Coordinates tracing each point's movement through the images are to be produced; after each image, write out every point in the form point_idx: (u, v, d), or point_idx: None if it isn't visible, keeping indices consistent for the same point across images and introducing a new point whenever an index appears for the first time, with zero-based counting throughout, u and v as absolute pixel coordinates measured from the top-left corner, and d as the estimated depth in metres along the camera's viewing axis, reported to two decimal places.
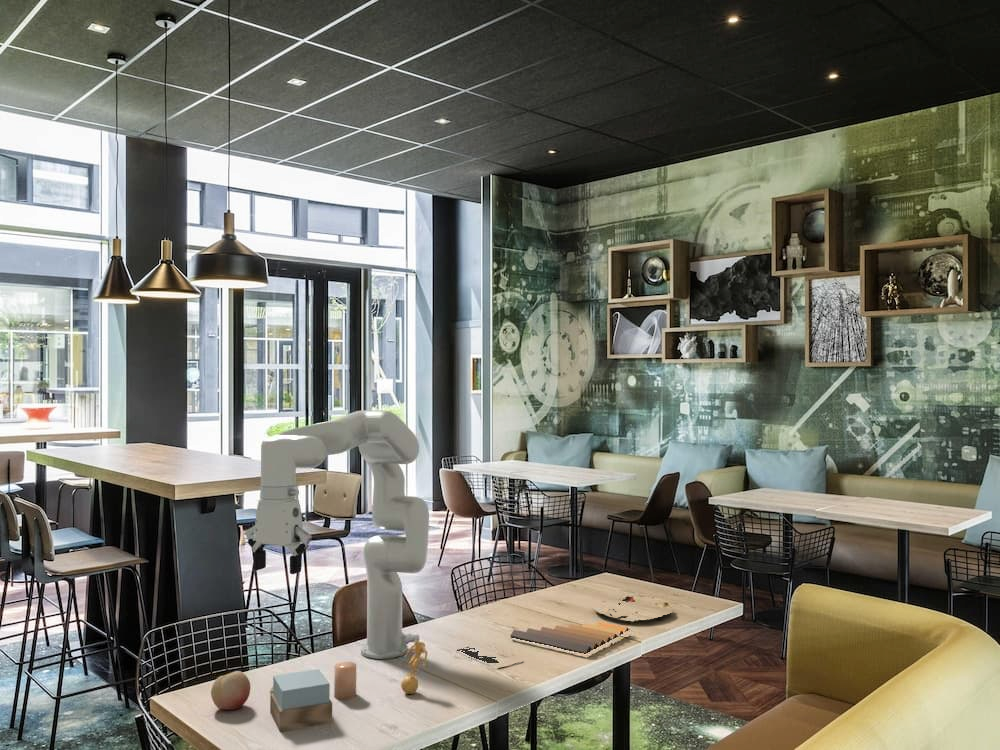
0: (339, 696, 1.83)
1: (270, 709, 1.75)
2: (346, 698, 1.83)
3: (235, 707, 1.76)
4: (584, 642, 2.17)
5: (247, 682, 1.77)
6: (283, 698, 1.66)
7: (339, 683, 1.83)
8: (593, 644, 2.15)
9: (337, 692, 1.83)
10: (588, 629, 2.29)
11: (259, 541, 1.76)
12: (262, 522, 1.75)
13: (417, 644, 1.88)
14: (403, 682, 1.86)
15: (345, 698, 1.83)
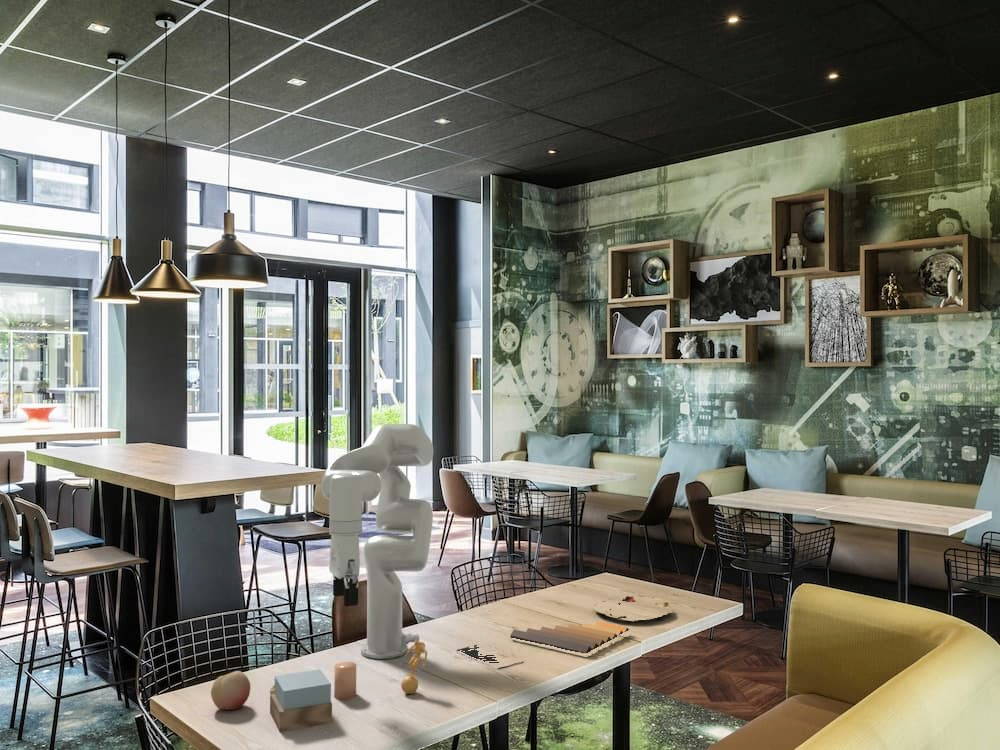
0: (339, 696, 1.83)
1: (270, 710, 1.75)
2: (346, 698, 1.83)
3: (235, 707, 1.76)
4: (584, 642, 2.17)
5: (247, 682, 1.77)
6: (284, 698, 1.66)
7: (339, 683, 1.83)
8: (593, 644, 2.16)
9: (337, 692, 1.83)
10: (588, 629, 2.29)
11: None
12: None
13: (417, 644, 1.88)
14: (403, 682, 1.86)
15: (345, 698, 1.83)
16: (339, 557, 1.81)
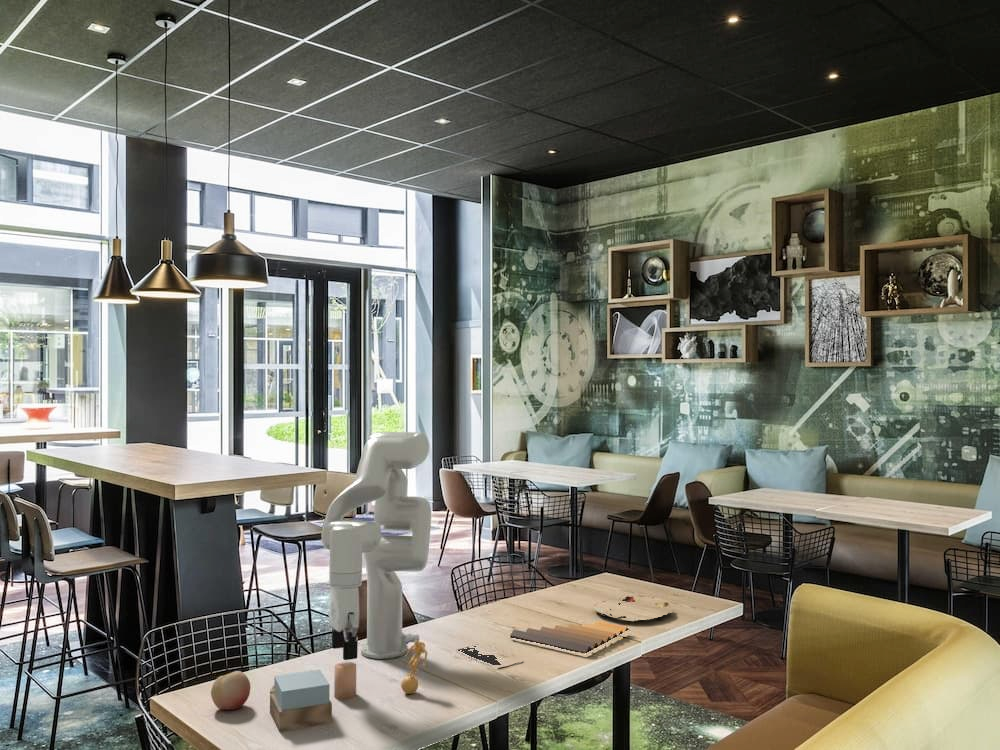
0: (339, 696, 1.83)
1: (270, 710, 1.75)
2: (346, 698, 1.83)
3: (235, 707, 1.76)
4: (584, 641, 2.17)
5: (247, 682, 1.77)
6: (283, 699, 1.66)
7: (339, 683, 1.83)
8: (593, 644, 2.16)
9: (337, 692, 1.83)
10: (588, 629, 2.29)
11: None
12: None
13: (417, 644, 1.88)
14: (403, 682, 1.86)
15: (345, 698, 1.83)
16: (339, 610, 1.80)
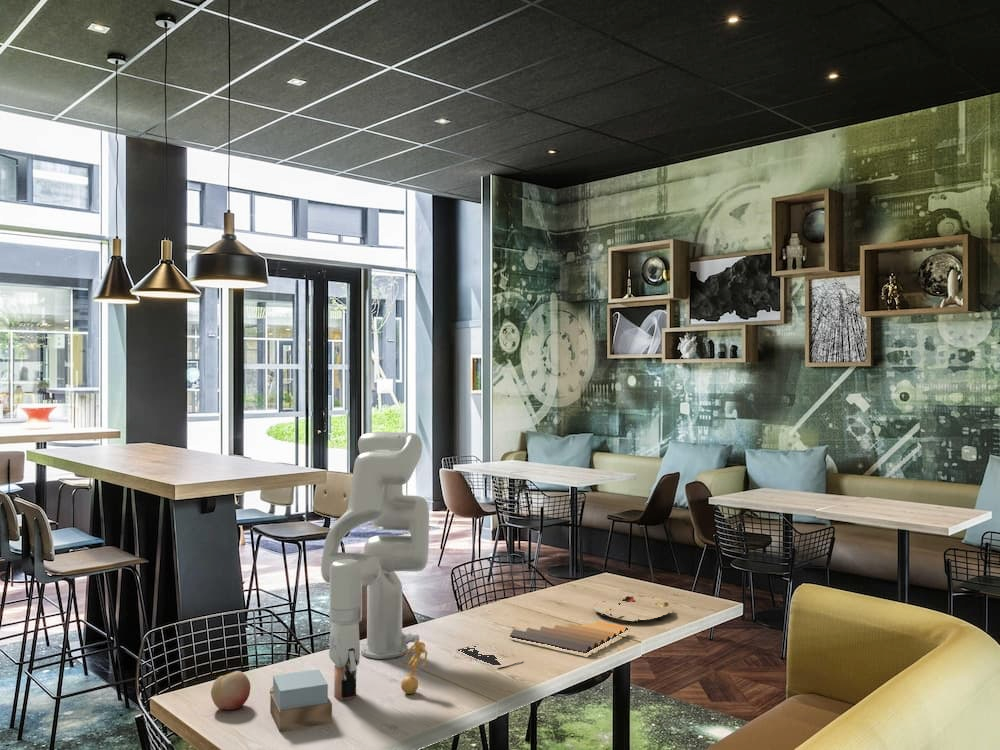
0: (339, 696, 1.83)
1: (270, 709, 1.75)
2: (346, 698, 1.83)
3: (235, 707, 1.76)
4: (584, 641, 2.18)
5: (247, 682, 1.77)
6: (281, 698, 1.66)
7: (339, 683, 1.83)
8: (593, 643, 2.16)
9: (337, 692, 1.83)
10: (587, 629, 2.29)
11: None
12: None
13: (417, 644, 1.88)
14: (403, 682, 1.86)
15: (345, 698, 1.83)
16: (339, 646, 1.80)
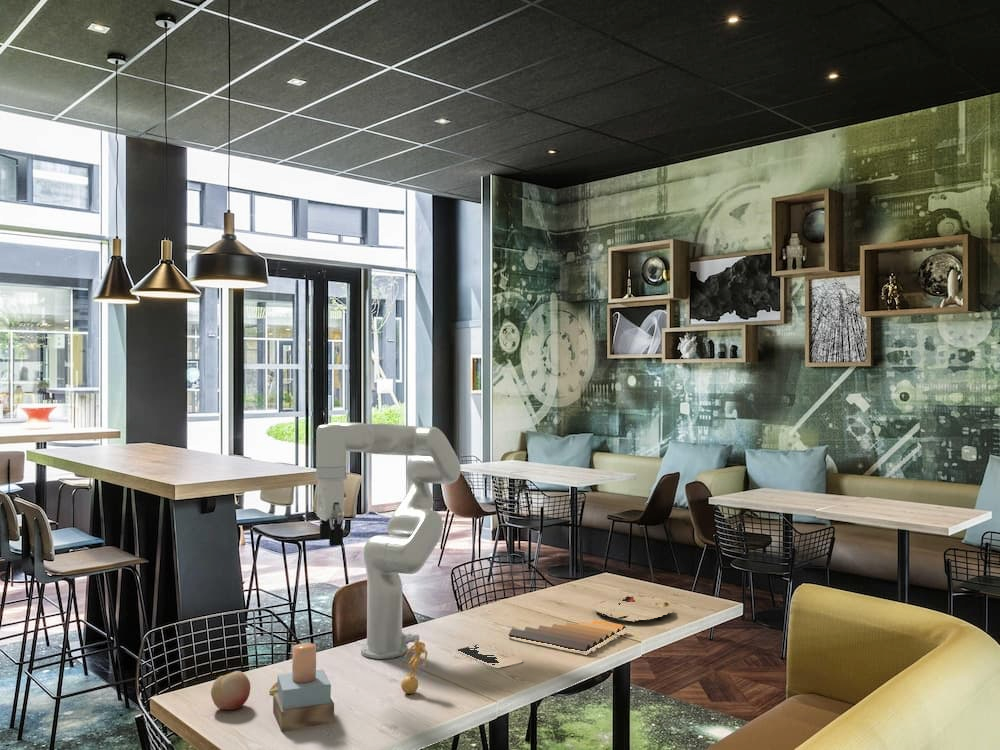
0: (296, 678, 1.71)
1: (273, 709, 1.75)
2: (304, 681, 1.71)
3: (235, 707, 1.76)
4: (583, 639, 2.19)
5: (247, 682, 1.77)
6: (283, 697, 1.67)
7: (297, 665, 1.71)
8: (592, 642, 2.17)
9: (294, 674, 1.71)
10: (585, 627, 2.31)
11: None
12: None
13: (417, 644, 1.88)
14: (403, 682, 1.86)
15: (302, 681, 1.71)
16: (325, 500, 1.94)
